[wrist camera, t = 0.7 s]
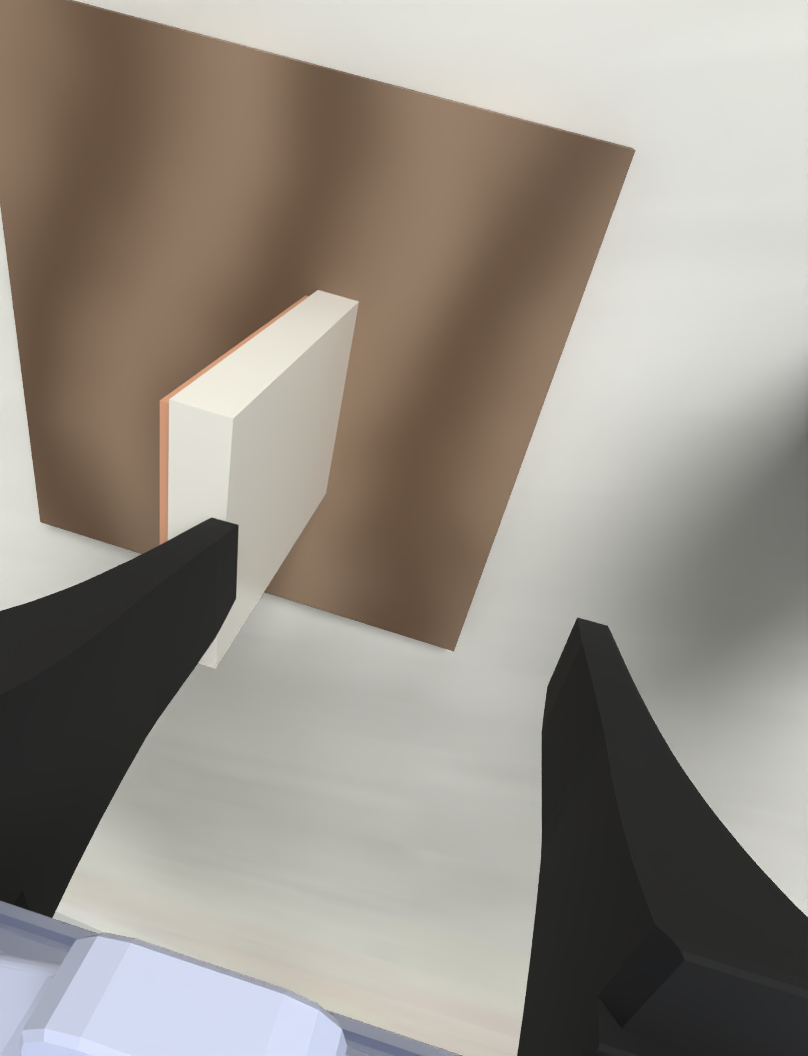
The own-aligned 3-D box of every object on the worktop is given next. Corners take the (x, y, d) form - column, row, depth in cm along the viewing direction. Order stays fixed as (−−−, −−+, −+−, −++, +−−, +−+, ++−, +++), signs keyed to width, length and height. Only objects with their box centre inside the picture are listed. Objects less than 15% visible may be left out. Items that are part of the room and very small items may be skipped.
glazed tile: (358, 301, 20) (233, 418, 13) (325, 493, 24) (215, 668, 16) (308, 287, 20) (154, 394, 13) (283, 481, 24) (155, 649, 17)
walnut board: (632, 148, 17) (635, 150, 16) (457, 634, 27) (453, 651, 27) (-2, -20, 18) (-29, -26, 17) (55, 510, 28) (40, 522, 28)
